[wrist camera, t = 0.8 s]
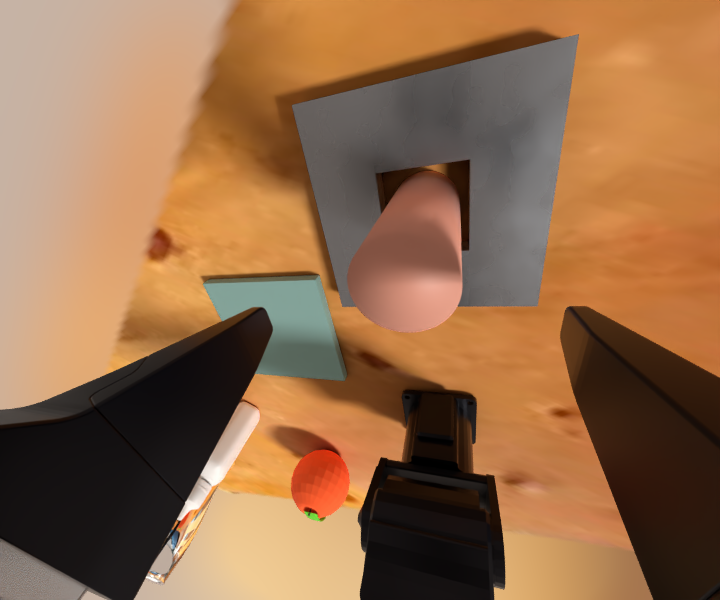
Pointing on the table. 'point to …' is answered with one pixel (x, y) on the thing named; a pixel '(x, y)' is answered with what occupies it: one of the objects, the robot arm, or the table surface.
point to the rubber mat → (286, 323)
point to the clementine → (320, 484)
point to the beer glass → (179, 541)
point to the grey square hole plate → (450, 160)
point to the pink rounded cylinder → (411, 257)
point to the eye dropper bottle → (223, 454)
